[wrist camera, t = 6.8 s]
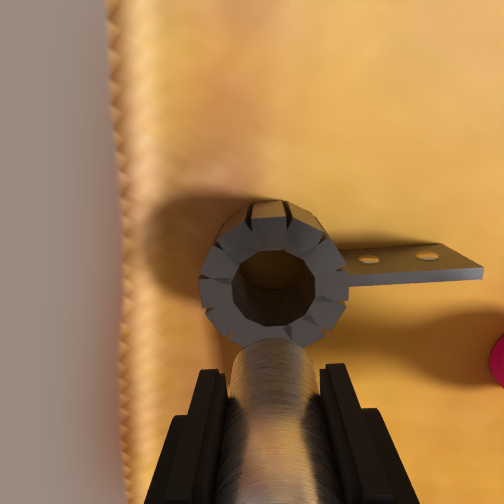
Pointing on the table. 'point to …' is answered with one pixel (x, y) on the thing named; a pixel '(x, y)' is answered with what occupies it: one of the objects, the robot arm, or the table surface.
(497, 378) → the pepper mill
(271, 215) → the hinge
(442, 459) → the table surface
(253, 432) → the hinge pin
